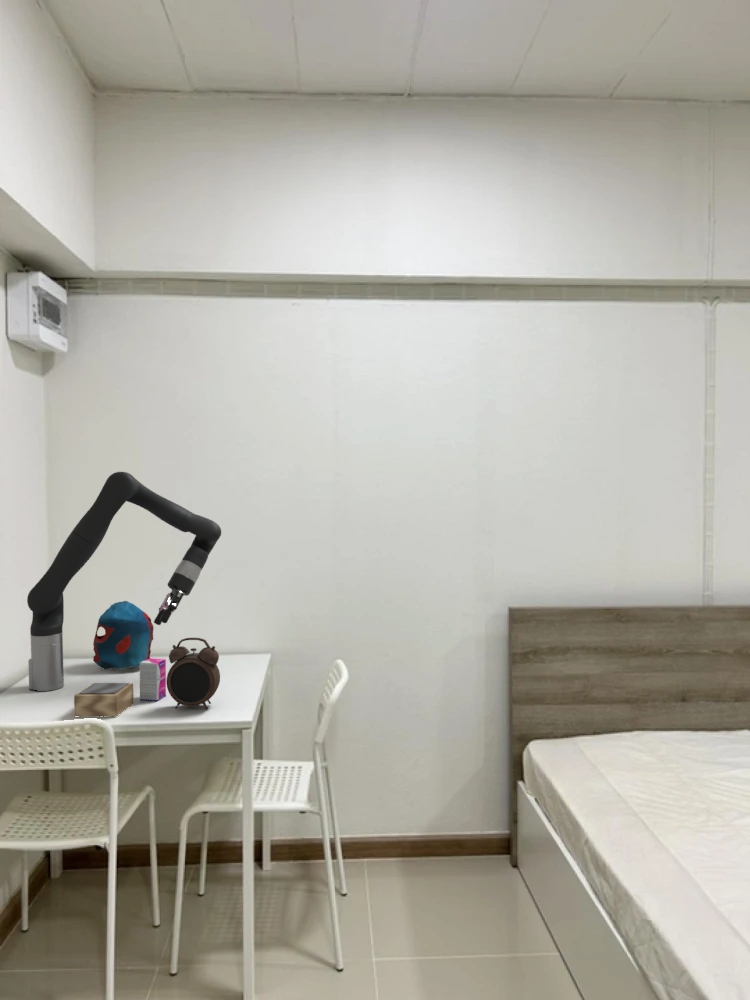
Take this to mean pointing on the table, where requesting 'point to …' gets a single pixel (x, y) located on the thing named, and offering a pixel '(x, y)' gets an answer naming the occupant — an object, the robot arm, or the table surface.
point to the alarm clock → (193, 674)
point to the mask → (123, 637)
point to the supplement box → (152, 679)
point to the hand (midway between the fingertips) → (159, 623)
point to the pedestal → (104, 699)
